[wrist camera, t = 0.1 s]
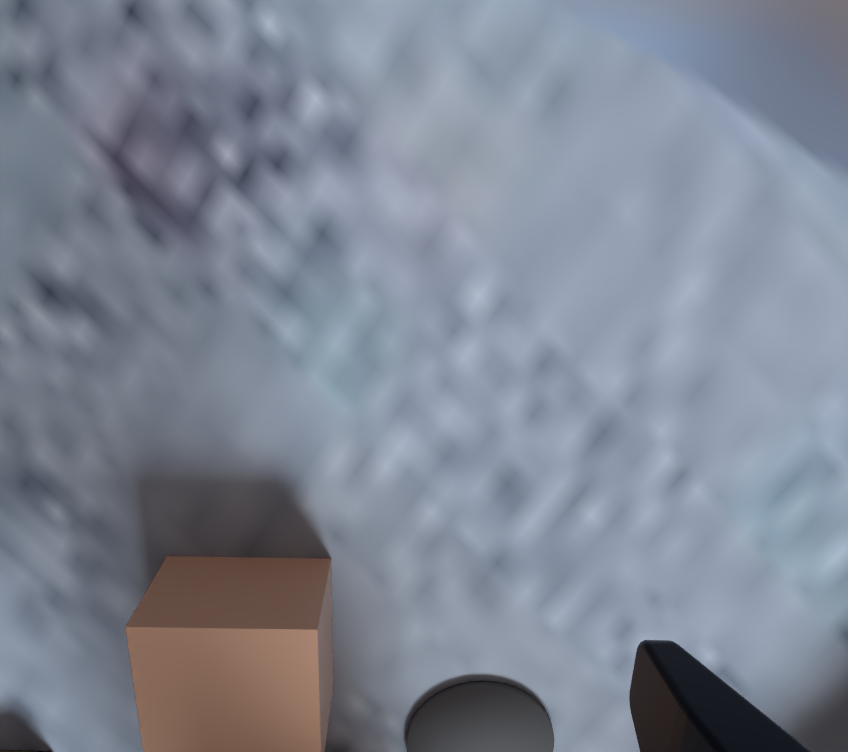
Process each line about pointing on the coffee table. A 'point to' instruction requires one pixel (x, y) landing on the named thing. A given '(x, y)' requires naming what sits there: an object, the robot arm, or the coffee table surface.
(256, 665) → the terracotta block
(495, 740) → the pad
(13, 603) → the coffee table surface
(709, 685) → the robot arm
